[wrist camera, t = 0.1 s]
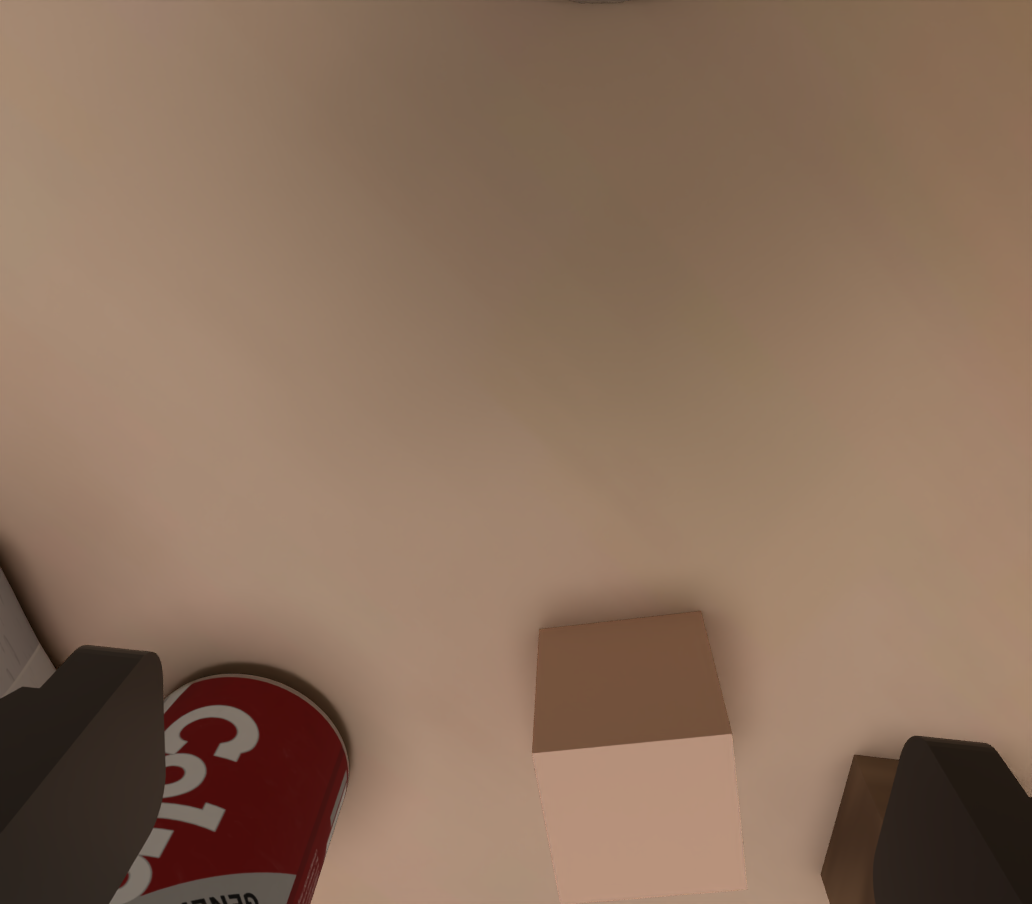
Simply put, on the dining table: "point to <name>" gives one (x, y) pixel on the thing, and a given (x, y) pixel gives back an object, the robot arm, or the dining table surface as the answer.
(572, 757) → the tan block
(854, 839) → the walnut block
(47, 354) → the dining table surface
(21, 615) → the juice carton
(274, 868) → the soda can
